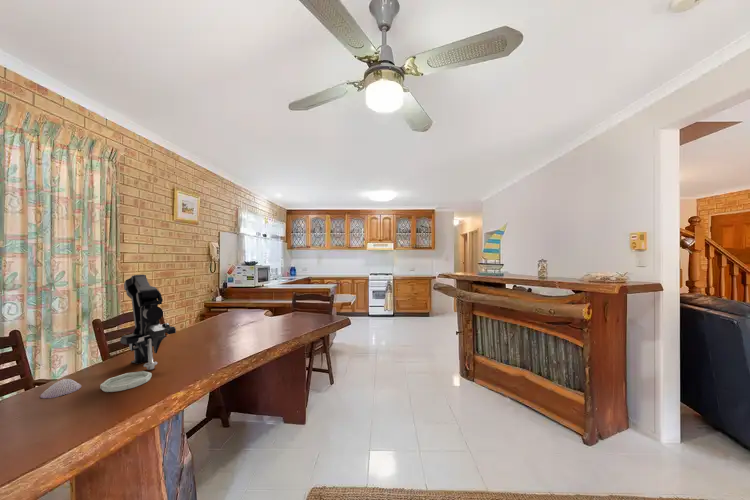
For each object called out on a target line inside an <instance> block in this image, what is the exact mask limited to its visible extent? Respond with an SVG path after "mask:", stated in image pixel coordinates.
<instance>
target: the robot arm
mask: <svg viewBox="0 0 750 500" xmlns="http://www.w3.org/2000/svg"><path fill="white" fill-rule="evenodd" d="M123 288H124V291H126V296H127V297H128V298H130V299H131V305H132V306H131V307H132V313H133V321H134V330H133V332H132V333H130V334H126V335H122V336H121V337H120V340H119V342H120V344H123V345H129V350H130V351H131V352H133V353H134V355H133V356H134V358H133V359H134V360H131V361H130V363H132V364H135V365H140V364H143V363H144V364H145V363H148V348H147V347H148V339H152V347H153V353H154V354H157V353H158V351H159V348H160V345H161V343H162V341H163V340H164V339H165V338H168V337H167V335H166V334H168V335H173V334H176V333H177V329H176V327H175V326H171V325H170V323H169V322H166V323H165V322H164V323H163V324H160V320H161V318H162V317H163V316H164V311H163V309H162V308H160V307H159V305H162V304H163V302H164V300H163V297H162V293H161V292H160V290H159V289H158V288H157V287H156V286H153V285H150V282H149V281H148V278H147V275H145V274H134V275H131V276H130V278H127V279H125V281H124V283H123ZM153 360H154V357H153Z"/></svg>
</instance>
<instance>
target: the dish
mask: <svg viewBox="0 0 750 500" xmlns="http://www.w3.org/2000/svg"><path fill="white" fill-rule="evenodd" d="M152 375H153V374H152V372H149V371H145V370H140V371H134V372H133V371H132V372H126V373H123V374H120V375H116V376H114V377H110V378H108V379H106V380H105V381H103V382H102V383H101V384H99V385H100V386H99V387H100V388H99V389H100V390H101V391H103V392H105V393H114V392H121V391H126V390H129V389H134V388H136V387H139V386H142V385H145V384H146V383H147V382H149V381H150V380H151V378H152Z"/></svg>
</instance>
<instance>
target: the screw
mask: <svg viewBox="0 0 750 500" xmlns="http://www.w3.org/2000/svg"><path fill="white" fill-rule="evenodd" d="M147 348H148V361H147V362H145V363H144V364H143V365H142V366H143V367H144V368H146V370H147V371H152V370H154V369H155V366H156V365H158V361H154V359H153V358H154V354H153V353H154V347H153V346H152V339H148V347H147Z"/></svg>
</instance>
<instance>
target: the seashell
mask: <svg viewBox="0 0 750 500" xmlns="http://www.w3.org/2000/svg"><path fill="white" fill-rule="evenodd" d="M81 388H82V384H81V383H79V382H77V381H75V380H73V379H71V378H63V379H61V380H59V381H56V382H55V383H53V384H52V385H50V386H49V387H48V388H46V390H44V391H43V392H42V393H41V394H40V396H39V397H40V399H46V400H47V399H53V398H54V399H55V398H59V397H60V396H65V395H70V394H71V393H75V392H76V391H77V392H78V391H79V390H80V389H81Z"/></svg>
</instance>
